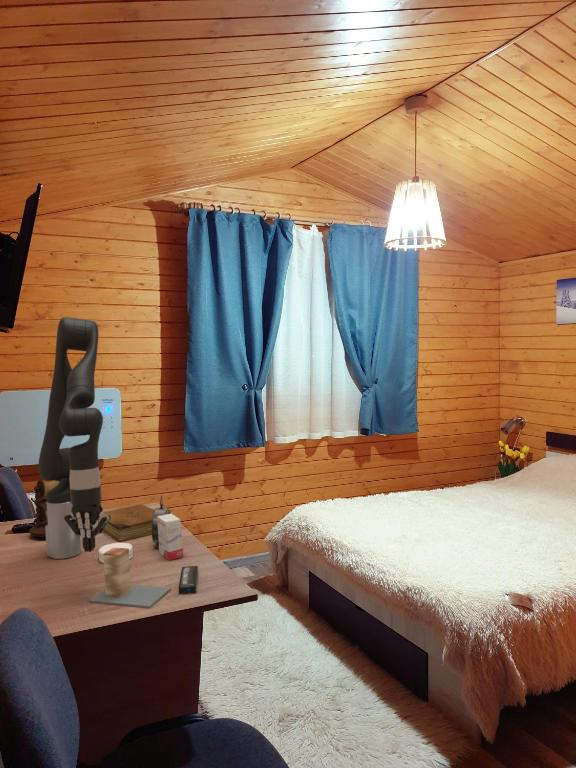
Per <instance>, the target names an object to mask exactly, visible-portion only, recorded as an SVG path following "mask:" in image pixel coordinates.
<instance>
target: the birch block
mask: <svg viewBox="0 0 576 768" xmlns="http://www.w3.org/2000/svg"><path fill="white" fill-rule="evenodd" d="M103 564H104V565H103V567H104V585H105V590H106V596H114V597H122V596H124V595H125V594H126V593H128V592H129V591H130V590H131V585H132V584H131V570H130V568H131V567H130V565H131V564H130V559H129V549H128V548H112V549H110V550H108V551H107V552H105V553H104V563H103Z"/></svg>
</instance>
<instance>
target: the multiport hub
mask: <svg viewBox="0 0 576 768" xmlns="http://www.w3.org/2000/svg"><path fill="white" fill-rule="evenodd" d="M198 578H199V566H198V565H191V566H189V565H188V566H182V567H181V571H180V577H179V582H178V595H180V594H181V595H189V594H188V593H193V594H196V593H197V590H196V589H198V588H197V587H198V580H197V579H198Z"/></svg>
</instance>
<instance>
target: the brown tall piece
mask: <svg viewBox="0 0 576 768" xmlns="http://www.w3.org/2000/svg"><path fill="white" fill-rule="evenodd" d="M60 481H61V479H57V480H53V481H49V482H44V481H43V479H38V480H37V482H36V485H35V486H34V487H33V491H34V494H35V495H34V501H33V504H34V505H35V506H34V507H35V512H36V513H35V515H34V517H35V520H36V522H35V523H36V524H35V525H33V526H32V527H31V528H30V529H28V530H29V531H28V532H29V535H30V536H32V537H36V538H38V537H39V538H40V537H41V538H44V540H45V541H46V530H45V527H46V525H48V515H47V499H46V495H47V493H48V491H50V490H51V489H53V488H54V487H56V486H57V485H58V484H59V482H60Z"/></svg>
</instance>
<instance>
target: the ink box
mask: <svg viewBox="0 0 576 768" xmlns="http://www.w3.org/2000/svg"><path fill="white" fill-rule="evenodd" d="M157 521H158V537H159V546H158V551H159V555H161V556H162V557H165V558H166V559H167V560H168V561H172V560H176V559H179V558H183V557H184V548H183V538H182V537H183V536H182V524H181V519H180V518H179V517H177V516H176V515H174V514H173V513H171V514H167V515H161V516H157Z"/></svg>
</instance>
